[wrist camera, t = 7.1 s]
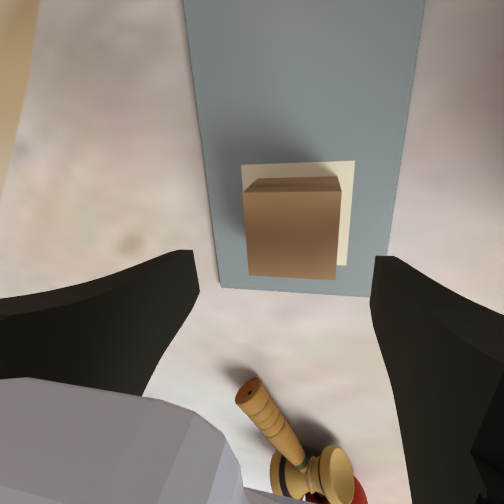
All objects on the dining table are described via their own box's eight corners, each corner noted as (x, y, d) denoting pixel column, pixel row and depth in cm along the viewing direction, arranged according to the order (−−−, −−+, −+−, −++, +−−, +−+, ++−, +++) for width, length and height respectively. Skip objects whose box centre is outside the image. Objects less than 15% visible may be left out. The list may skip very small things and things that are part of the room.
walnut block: (332, 250, 19) (335, 280, 16) (261, 248, 20) (248, 275, 17) (337, 176, 17) (341, 191, 14) (257, 178, 18) (242, 192, 15)
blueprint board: (379, 294, 20) (380, 298, 20) (222, 284, 23) (220, 287, 23) (461, -257, 10) (466, -271, 10) (165, -158, 13) (160, -167, 13)
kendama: (223, 383, 30) (316, 504, 32) (204, 431, 24) (320, 579, 26) (281, 350, 28) (378, 481, 30) (277, 394, 22) (398, 556, 24)
